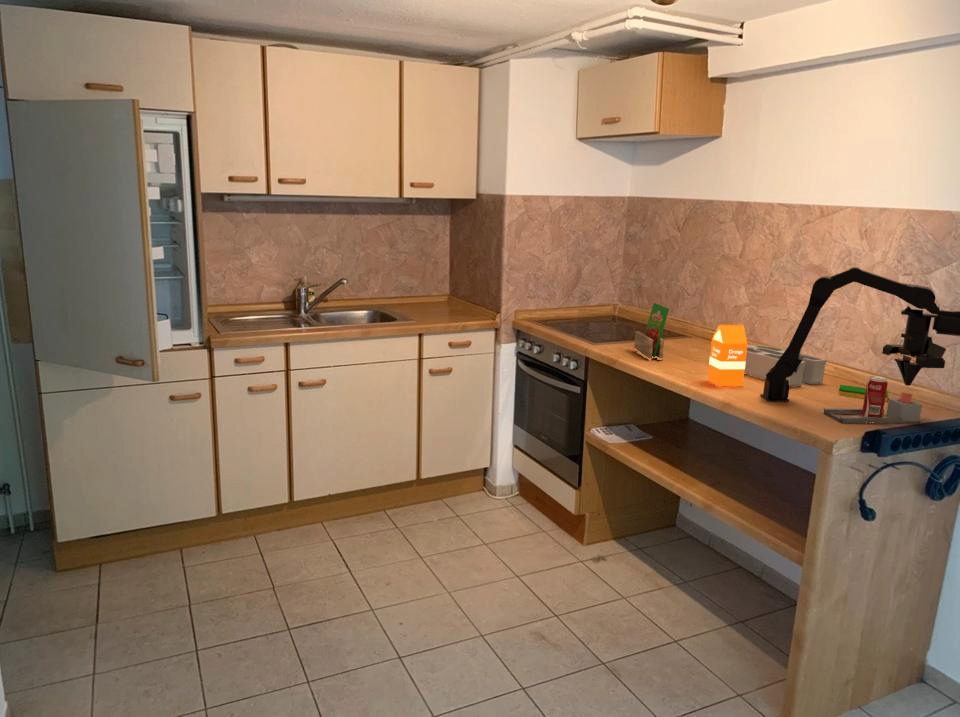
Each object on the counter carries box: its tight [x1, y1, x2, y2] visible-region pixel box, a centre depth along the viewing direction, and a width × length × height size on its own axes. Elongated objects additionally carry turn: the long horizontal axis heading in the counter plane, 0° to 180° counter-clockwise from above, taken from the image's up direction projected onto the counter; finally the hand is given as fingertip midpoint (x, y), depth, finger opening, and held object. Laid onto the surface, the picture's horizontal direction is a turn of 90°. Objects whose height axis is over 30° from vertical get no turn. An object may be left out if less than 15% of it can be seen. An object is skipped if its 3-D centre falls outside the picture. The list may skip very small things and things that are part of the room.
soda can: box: [861, 375, 889, 417], centre depth 211 cm, size 5×5×12 cm
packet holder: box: [633, 330, 665, 359], centre depth 284 cm, size 5×17×8 cm, turn 7°
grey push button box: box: [886, 398, 923, 422], centre depth 213 cm, size 6×6×5 cm
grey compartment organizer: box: [744, 344, 827, 388], centre depth 258 cm, size 17×28×9 cm, turn 28°
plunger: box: [899, 392, 913, 403], centre depth 213 cm, size 3×3×5 cm
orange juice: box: [707, 324, 749, 387], centre depth 244 cm, size 8×9×20 cm
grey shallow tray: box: [823, 408, 904, 424], centre depth 212 cm, size 18×9×2 cm, turn 97°
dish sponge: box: [837, 384, 889, 403], centre depth 237 cm, size 7×14×2 cm, turn 61°
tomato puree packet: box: [643, 302, 670, 357], centre depth 283 cm, size 15×1×20 cm, turn 9°
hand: (907, 385), depth 212 cm, fingers closed
